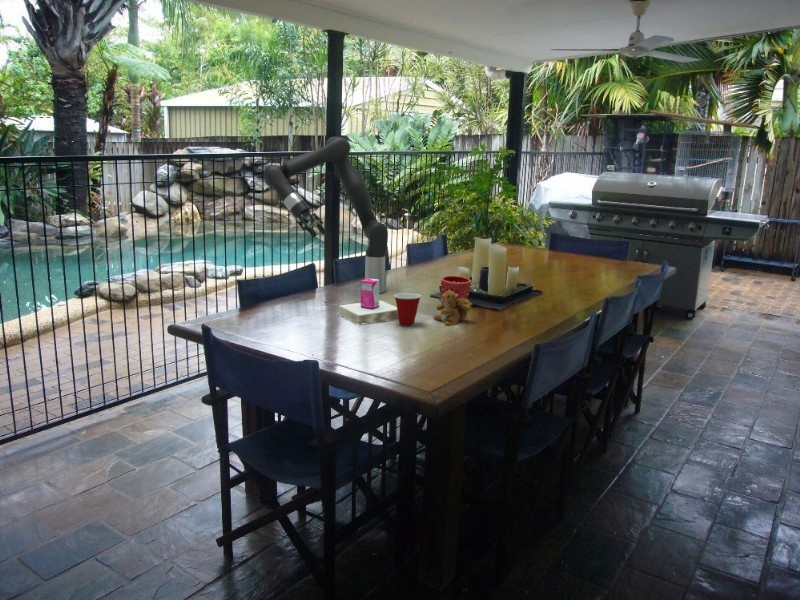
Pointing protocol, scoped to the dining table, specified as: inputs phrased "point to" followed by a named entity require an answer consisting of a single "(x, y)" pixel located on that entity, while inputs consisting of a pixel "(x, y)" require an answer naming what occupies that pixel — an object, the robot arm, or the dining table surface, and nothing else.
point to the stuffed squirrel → (452, 308)
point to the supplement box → (370, 293)
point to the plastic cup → (407, 307)
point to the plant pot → (456, 286)
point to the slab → (368, 313)
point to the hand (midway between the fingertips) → (320, 234)
